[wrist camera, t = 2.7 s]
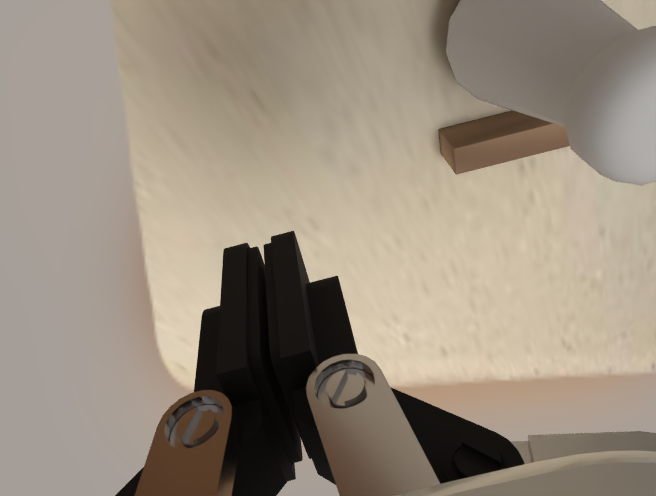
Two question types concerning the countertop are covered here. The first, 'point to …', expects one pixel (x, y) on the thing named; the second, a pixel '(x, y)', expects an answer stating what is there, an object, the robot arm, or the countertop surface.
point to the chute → (498, 140)
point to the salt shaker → (565, 75)
